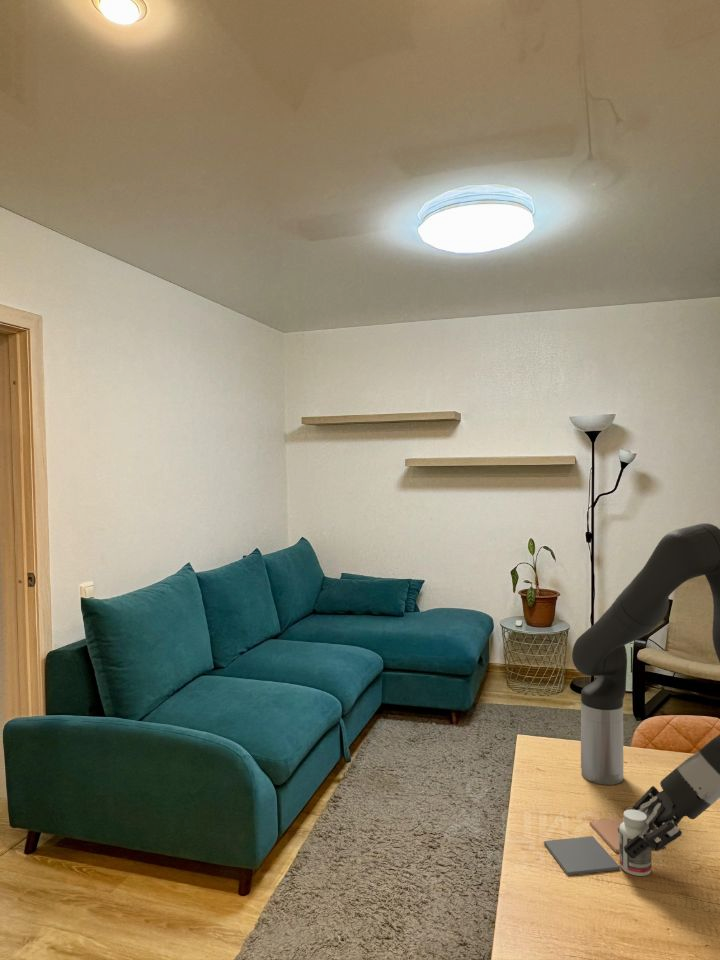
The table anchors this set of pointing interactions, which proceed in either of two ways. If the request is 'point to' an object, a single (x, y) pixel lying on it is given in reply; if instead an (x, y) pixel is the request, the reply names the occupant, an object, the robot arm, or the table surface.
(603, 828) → the terracotta coaster
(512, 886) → the table surface
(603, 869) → the slate coaster
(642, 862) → the pill bottle
